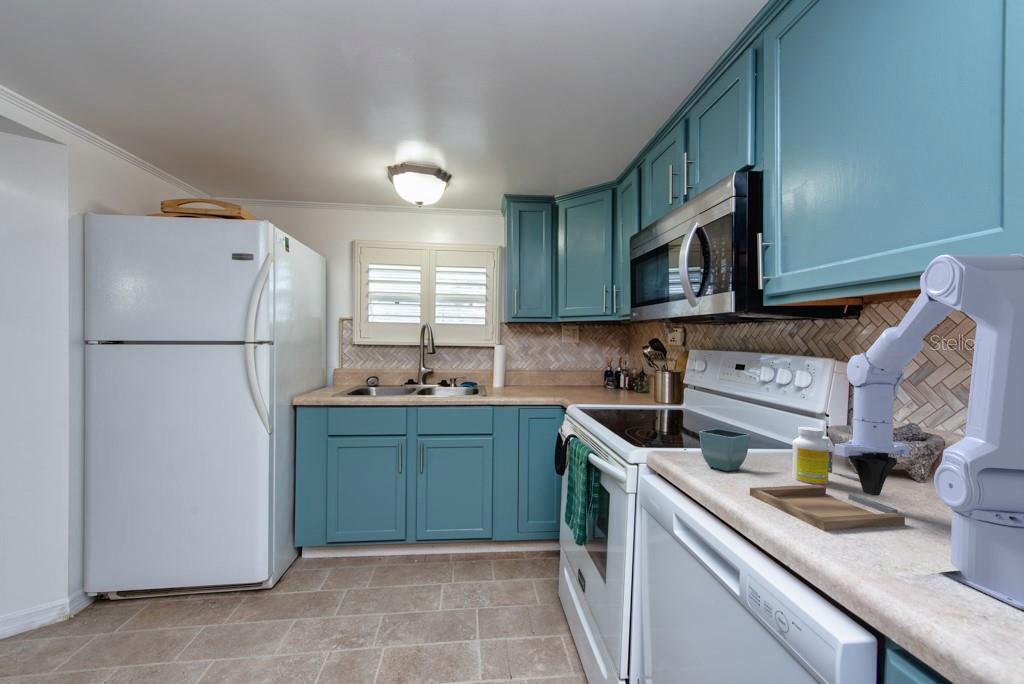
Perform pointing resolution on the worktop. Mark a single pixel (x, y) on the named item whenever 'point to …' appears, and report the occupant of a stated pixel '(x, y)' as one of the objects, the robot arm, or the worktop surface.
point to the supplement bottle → (810, 457)
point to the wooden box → (822, 508)
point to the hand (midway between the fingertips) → (871, 493)
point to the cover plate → (872, 504)
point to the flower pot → (724, 448)
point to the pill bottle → (827, 440)
